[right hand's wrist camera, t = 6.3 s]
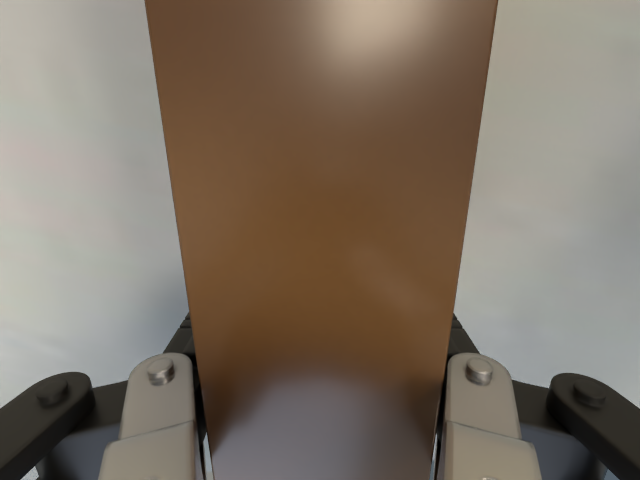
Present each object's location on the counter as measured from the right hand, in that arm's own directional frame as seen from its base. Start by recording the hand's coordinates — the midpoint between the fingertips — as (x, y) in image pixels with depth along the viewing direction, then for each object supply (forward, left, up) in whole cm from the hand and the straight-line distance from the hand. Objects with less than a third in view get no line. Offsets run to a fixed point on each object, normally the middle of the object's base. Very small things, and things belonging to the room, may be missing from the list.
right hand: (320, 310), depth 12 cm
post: (-25, -18, -3) cm, 31 cm away
